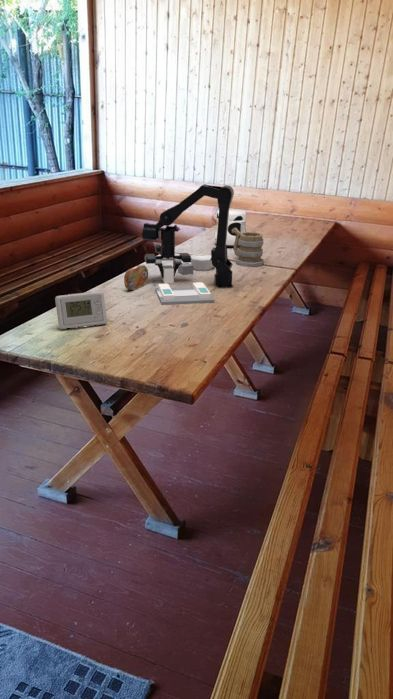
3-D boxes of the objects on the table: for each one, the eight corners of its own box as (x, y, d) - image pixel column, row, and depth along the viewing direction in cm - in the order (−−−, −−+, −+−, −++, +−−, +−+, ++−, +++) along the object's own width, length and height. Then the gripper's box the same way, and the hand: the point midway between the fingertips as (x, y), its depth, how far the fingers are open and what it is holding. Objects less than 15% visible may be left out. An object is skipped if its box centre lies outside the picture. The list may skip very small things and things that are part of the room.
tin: (129, 292, 216) (129, 272, 212) (123, 291, 217) (122, 270, 214) (149, 283, 228) (148, 263, 225) (142, 282, 229) (142, 262, 226)
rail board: (203, 288, 223) (204, 280, 222) (214, 302, 207) (214, 294, 206) (155, 290, 219) (155, 282, 218) (161, 304, 203) (161, 296, 202)
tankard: (268, 264, 261) (270, 233, 255) (247, 268, 254) (249, 235, 248) (241, 255, 276) (243, 225, 270) (221, 258, 269) (223, 228, 263)
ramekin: (209, 264, 259) (209, 253, 257) (217, 270, 249) (218, 259, 247) (186, 265, 255) (187, 254, 253) (194, 272, 246) (194, 260, 244)
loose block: (187, 271, 247) (187, 262, 245) (193, 274, 243) (193, 265, 241) (177, 272, 244) (177, 264, 243) (183, 275, 240) (183, 266, 239)
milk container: (212, 241, 303) (213, 208, 296) (242, 241, 305) (244, 208, 298) (216, 248, 288) (217, 214, 281) (248, 248, 290) (251, 214, 282)
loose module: (171, 278, 235) (171, 265, 232) (173, 282, 229) (173, 268, 227) (162, 279, 234) (162, 265, 231) (164, 283, 228) (164, 269, 226)
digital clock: (57, 331, 177) (54, 300, 173) (57, 321, 185) (55, 291, 181) (108, 328, 180) (106, 297, 176) (106, 319, 188) (104, 289, 184)
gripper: (186, 236, 234) (186, 272, 240) (142, 237, 230) (143, 273, 236) (191, 242, 224) (190, 279, 230) (146, 243, 220) (146, 281, 226)
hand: (167, 278), depth 231 cm, fingers closed on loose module, 4 cm apart
